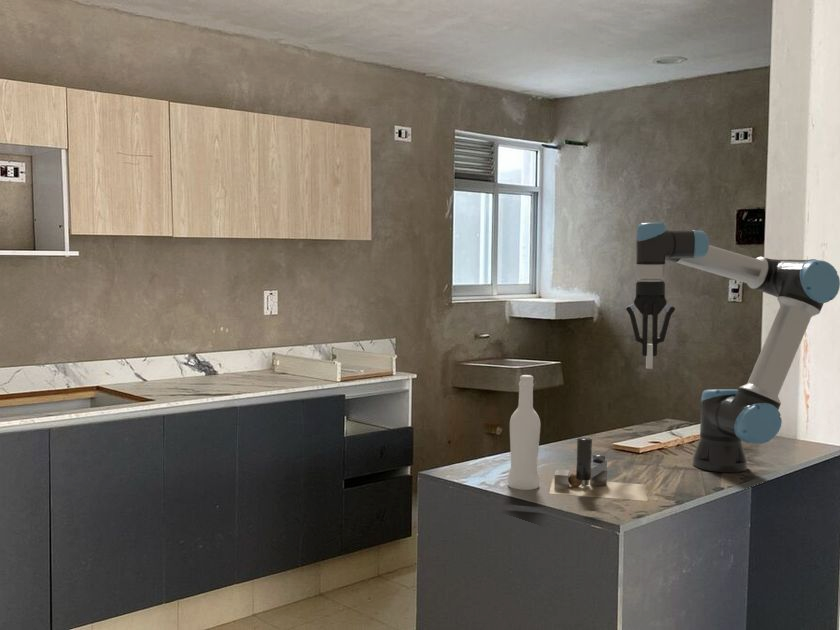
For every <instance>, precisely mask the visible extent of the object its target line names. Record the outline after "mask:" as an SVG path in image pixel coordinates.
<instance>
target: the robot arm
mask: <svg viewBox="0 0 840 630" xmlns="http://www.w3.org/2000/svg"><path fill="white" fill-rule="evenodd" d="M635 242H636V243H635V244H636V252H635V253H636V256H635V257H636V262H635V263H636V264H635V265H636V267H635V279H636V280H637V281H636V282H635V298H634V300H633V303H631V304H630V305H628V306H626V307H625V311H627V313H628V315H629V318H630V323H631V328H632V331H633V334H634V335H633V336H634V340H635V341H636V342H638V343H640V344H641V355H642V356H643V357H645V368H646V369H647V370H648V369H649V370H650V369H651V370H653V369H654V368H653V367H654V365H653V363H654V361H653V360H654V358H653V357H657V355H658V344H660V343H664V341H665V339H666V335H667V331H668V328H669V324H670V320H671V316H672V314H673V313H674V312H675V310H676V308H675V306H672V305H670V304H669V303H667V299H666V282H665V281H664V280H665V279H666V261H669V262H672V263H677V264H680V265H683V266H687V267H690V268H692V269H693V268H694V269H697V270H700V271H703V272H706V273H707V272H708V273H710V274H714V275H717V276H721V277H725V278H728V279H730V280H731V279H732V280H734V281H739V282H742V283H744V284H747V286H748V287H749V288H750V289H752V290H757V291H759V292H762V293H765V294H767V295H771V296H773V297H776V298H777V301H778V303H779V308H778V311H777V313H776V315H775V317H774V320H773V322H772V325H771V327H770V329H769V331H768V334H767V337H766V339H765V340H764V344H763V346H762V348H761V351H760V353H759V354H758V356H757V357H758V358H757V360H756V362H755V364H754V367H753V369H752V372H751V374H750V376H749V378H748V381H747V383H746V384H743V385H741V386H739V387H738V389H732V388H731V389H730V388H729V389H728V388H727V389H726V388H725V389H722V388H721V389H720V388H719V389H717V388H716V389H705V390H703V392H702V394H701V399H700V404H701V405H700V425H699V427H700V429H699V432H700V433H699V441H698V442H697V446H696V448H695V451H694V453H693V456H692V465H693V466H694V467H696V468H698V469H700V470H704V471H705V470H706V471H711V472H718V473H741V472H746V471H747V470H748V461H747V457H746V454H745V449H744V446H743V442H744V443H747V444H749V443H750V444H754V445H761V444H765V443H767V442H770V441H772V440H773V439H774V438H776V436H777V435H778V434H779V433H780V430H781V428H782V423H783V422H782V417H781V416H782V415H781V413H780V410H779V409H780V406H781V404H782V402H781V400H780V398H779V394H780V392H781V390H782V387H783V385H784V382H785V380H786V378H787V376H788V374H789V371H790V369H791V366H792V364H793V362H794V359H795V357H796V354H797V351H798V350H799V347H800V345H801V342H802V341H803V338H804V335H805V333H806V331H807V328H808V326H809V324H810V322H811V320H812V317H814V316H816V315H819V314H820V313H821V311H822V308H823V307H824V304H825V303H829V302H830V301H833V300H834V299H836V296H837V295H838V294H839V292H840V276H839V274H838V271H837V269H836V268H835V266H833V265H832V264H831V263H829V262H828V261H825V260H820V259H815V258H812V259H776V258H768V257H765V256H764V257H763V256H758V257H755V258H754V257H752V256H748V255H745V254H741V253H738V252H734V251H731V250H727V249H724V248H721V247H718V246H714V245H712V244H710V239H709V236H708V234H707V233H706V232H705V231H703V230H695V229H692V230H691V229H689V230H687V229H686V230H684V229H682V230H680V229H679V230H669V229H668V230H667V225H666V224H665V222H642V223H639V224H638V225H637V228H636V237H635ZM636 309H637V310H638V311H639V313H640V314H641V315H642V317H641V318H642V319H641V320H642V321H641V322H642V323H641V328H642V329H641V336H640V332H639V327H638V323H637V319H636V315H635V312H636ZM663 309H664V311H665V315H664V318H663V321H662V326H661V329H660V333H659V336H658V328H659V327H658V320H659V317H658V316H659V314H660V313H661V312H662V311H663ZM649 316H651V321H652V322H651V343H648V330H649V329H648V325H649V324H648V323H649V322H648V320H649Z"/></svg>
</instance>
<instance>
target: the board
mask: <svg viewBox="0 0 840 630" xmlns="http://www.w3.org/2000/svg"><path fill="white" fill-rule="evenodd" d="M569 476H570V470H569V469H555V472H554V477H552V479H551V484H550V488H549V492H548V493H549V495H563V496H575V497H591V498H601V499H602V498H603V499H614V500H615V499H616V500H617V499H618V500H629V501H631V500H632V501H643V502H648V501H649V499H648V495H647V489H646V485H645V484H644V483H643V484H642V483H629V482H616V481H615V482H614V481H608V470H607V469H606V470H604V471H603V472H601V473H599V474H598V475H596V476H594V477H592V478H591V479H590V480H589V485H587V486H585V487H582V484H581V485H580V486H578V487H573V486H571V485H570V484H569V481H568V478H569Z"/></svg>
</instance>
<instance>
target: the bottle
mask: <svg viewBox="0 0 840 630" xmlns="http://www.w3.org/2000/svg"><path fill="white" fill-rule="evenodd" d="M534 380H535V379H534V376H533V375H531V374H522V375H520V376H519V382H518V387H519V388H518V406H517V408H516V409H515V410H514V412H513V413H512V414H511V417H510V420H509V442H510V443H509V445H510V446H509V447H510V470H509V472H508V476H507V485H508V487H509V488H512V489H515V490H516V489H517V490H522V491H523V490H525V491H526V490H527V491H528V490H529V491H530V490H535V489H538V488H539V487H540V475H539V471H538V460H539V459H538V458H539V448H540V447H539V445H540V435H541V420H540V417H539V415H538V413H537V411H536V410H535V409H534V405H533V404H534V386H535V385H534Z"/></svg>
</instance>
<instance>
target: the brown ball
mask: <svg viewBox="0 0 840 630" xmlns="http://www.w3.org/2000/svg"><path fill="white" fill-rule="evenodd" d="M568 481H569V484H570V485H571V486H573V487H578V486H580V485H581V484H582V480H579V479H576V472H573V473H571V474H569V478H568Z"/></svg>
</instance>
